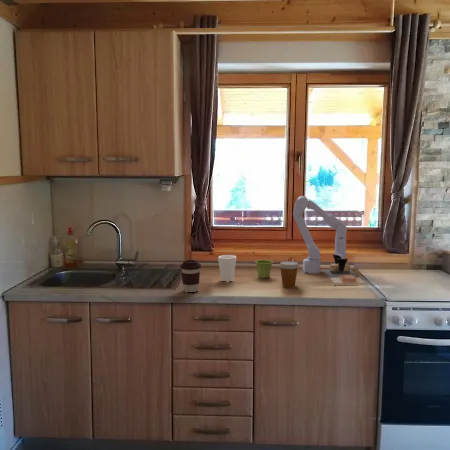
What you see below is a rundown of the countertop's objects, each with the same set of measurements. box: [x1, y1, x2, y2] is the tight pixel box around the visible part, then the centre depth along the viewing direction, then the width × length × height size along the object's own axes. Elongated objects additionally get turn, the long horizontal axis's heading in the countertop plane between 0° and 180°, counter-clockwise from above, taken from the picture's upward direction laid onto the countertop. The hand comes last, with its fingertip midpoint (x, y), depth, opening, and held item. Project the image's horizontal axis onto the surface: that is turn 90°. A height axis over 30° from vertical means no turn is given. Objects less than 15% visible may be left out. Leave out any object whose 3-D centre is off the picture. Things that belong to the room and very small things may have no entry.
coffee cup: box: [179, 259, 202, 293], centre depth 229 cm, size 10×10×15 cm
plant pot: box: [255, 259, 274, 279], centre depth 255 cm, size 9×9×9 cm
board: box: [322, 268, 366, 287], centre depth 252 cm, size 16×28×2 cm, turn 0°
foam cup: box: [217, 254, 237, 282], centre depth 248 cm, size 10×9×13 cm
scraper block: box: [329, 263, 351, 274], centre depth 259 cm, size 10×4×4 cm, turn 90°
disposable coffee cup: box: [279, 260, 299, 289], centre depth 237 cm, size 10×10×12 cm
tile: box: [339, 275, 356, 282], centre depth 242 cm, size 7×7×2 cm
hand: (339, 269), depth 259 cm, fingers open, 7 cm apart
